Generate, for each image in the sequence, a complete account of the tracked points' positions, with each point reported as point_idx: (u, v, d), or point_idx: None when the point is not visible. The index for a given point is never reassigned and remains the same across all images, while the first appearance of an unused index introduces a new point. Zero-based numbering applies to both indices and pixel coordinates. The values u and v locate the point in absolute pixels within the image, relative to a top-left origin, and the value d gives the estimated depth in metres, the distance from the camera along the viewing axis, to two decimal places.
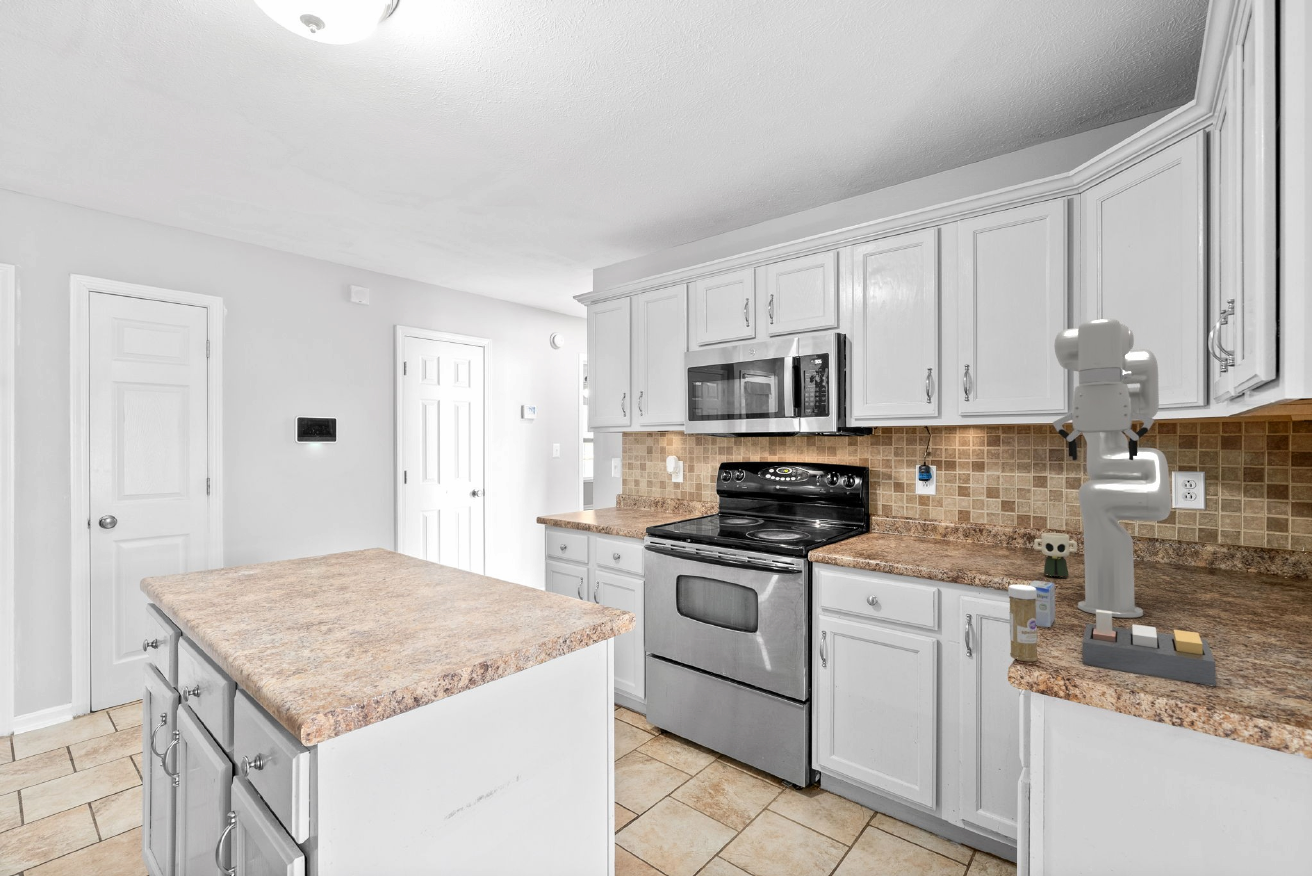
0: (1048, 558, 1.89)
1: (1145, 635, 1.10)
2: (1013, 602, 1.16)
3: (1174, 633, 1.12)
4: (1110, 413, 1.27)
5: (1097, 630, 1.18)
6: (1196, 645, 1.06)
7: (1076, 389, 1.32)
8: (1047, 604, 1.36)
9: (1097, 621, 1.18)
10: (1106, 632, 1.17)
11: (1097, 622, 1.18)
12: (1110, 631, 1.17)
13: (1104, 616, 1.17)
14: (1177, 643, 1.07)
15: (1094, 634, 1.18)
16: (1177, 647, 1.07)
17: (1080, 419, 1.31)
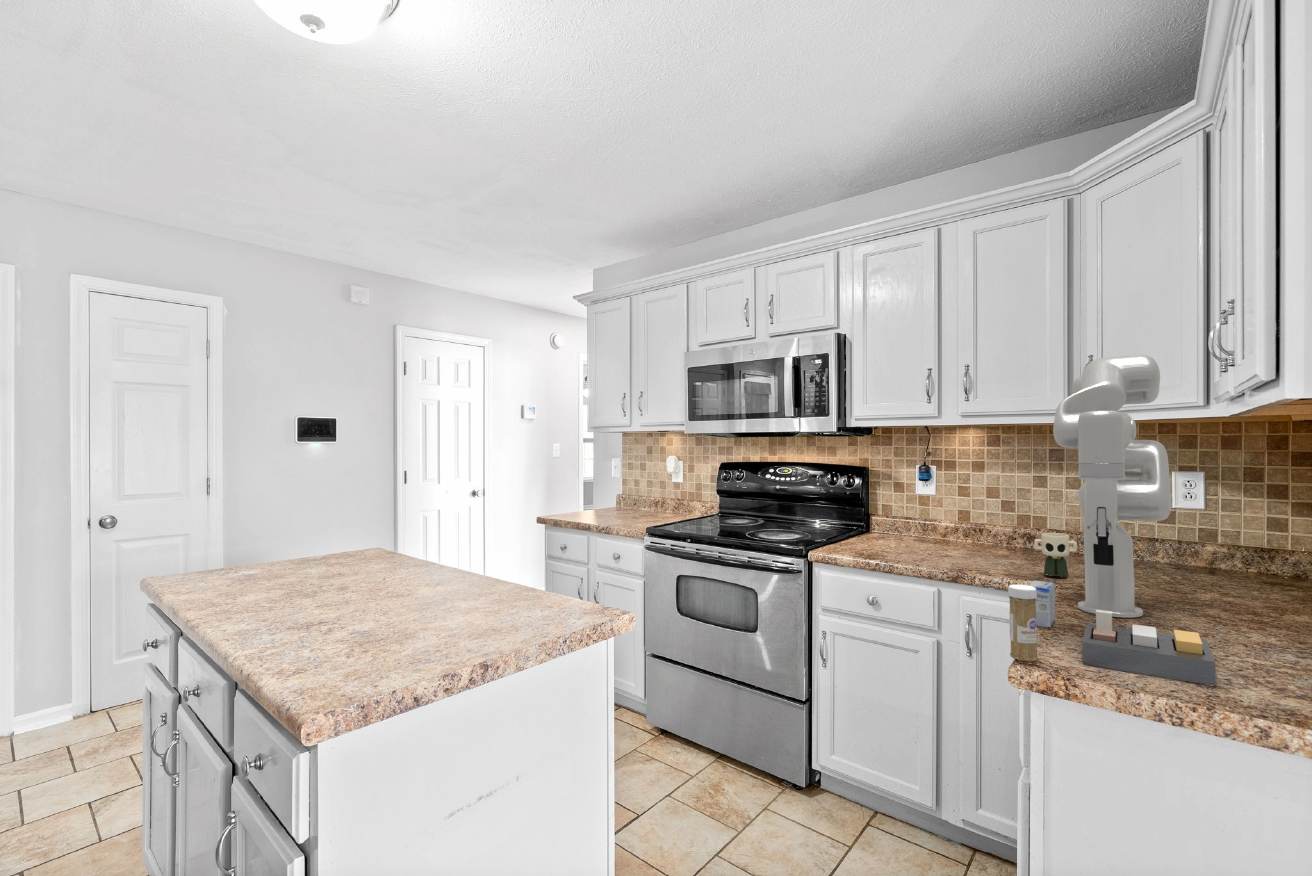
0: (1048, 558, 1.89)
1: (1145, 635, 1.10)
2: (1013, 602, 1.16)
3: (1174, 633, 1.12)
4: None
5: (1097, 630, 1.18)
6: (1196, 645, 1.06)
7: (1110, 483, 1.20)
8: (1047, 605, 1.36)
9: (1097, 621, 1.18)
10: (1106, 632, 1.17)
11: (1097, 622, 1.18)
12: (1110, 631, 1.17)
13: (1104, 616, 1.17)
14: (1177, 643, 1.07)
15: (1094, 634, 1.18)
16: (1177, 647, 1.07)
17: (1115, 516, 1.19)
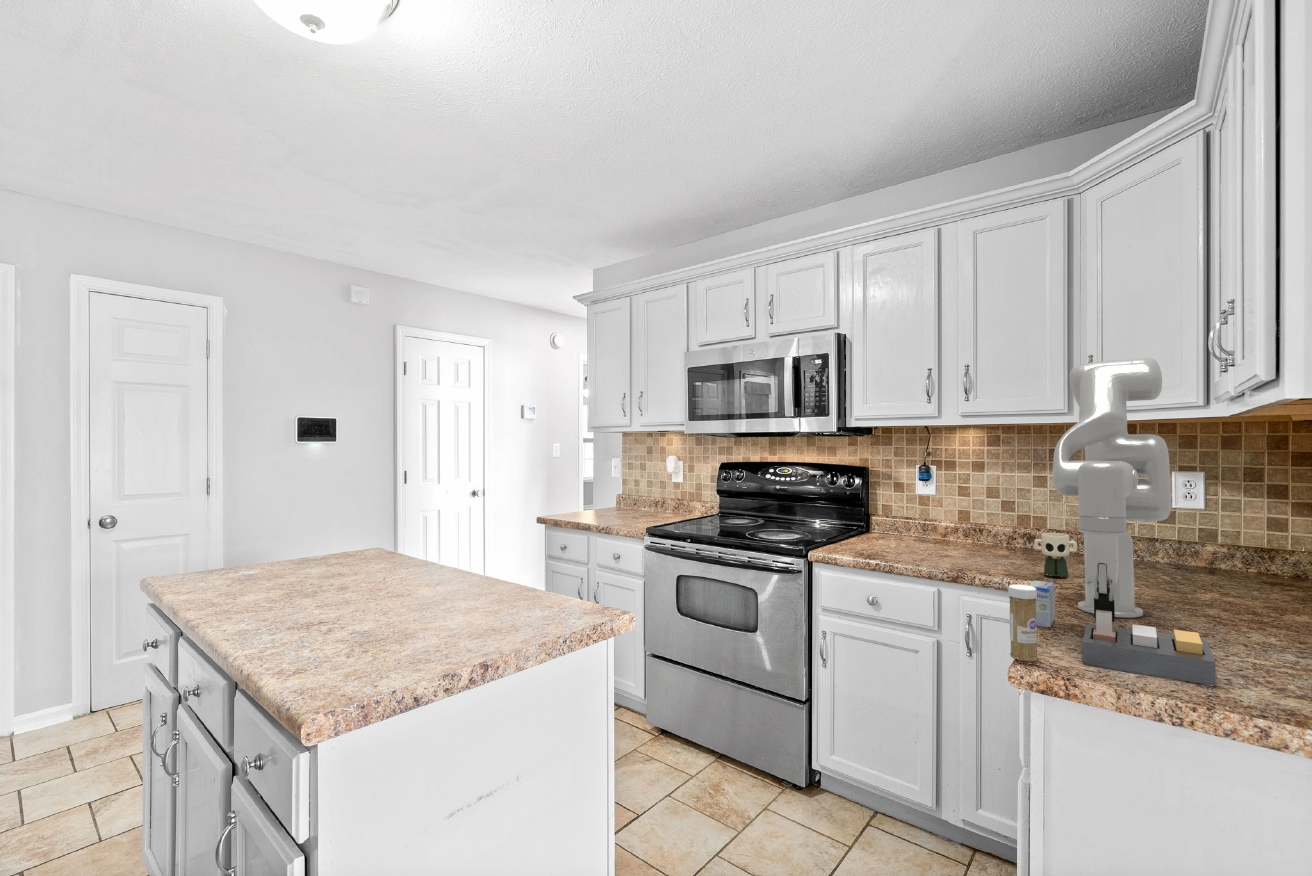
0: (1048, 558, 1.89)
1: (1145, 635, 1.10)
2: (1013, 602, 1.16)
3: (1174, 633, 1.12)
4: None
5: (1097, 630, 1.18)
6: (1196, 645, 1.06)
7: (1111, 538, 1.17)
8: (1047, 605, 1.36)
9: (1097, 621, 1.18)
10: (1106, 632, 1.17)
11: (1097, 622, 1.18)
12: (1110, 631, 1.17)
13: (1104, 616, 1.17)
14: (1177, 643, 1.07)
15: (1094, 634, 1.17)
16: (1177, 647, 1.07)
17: (1116, 573, 1.17)
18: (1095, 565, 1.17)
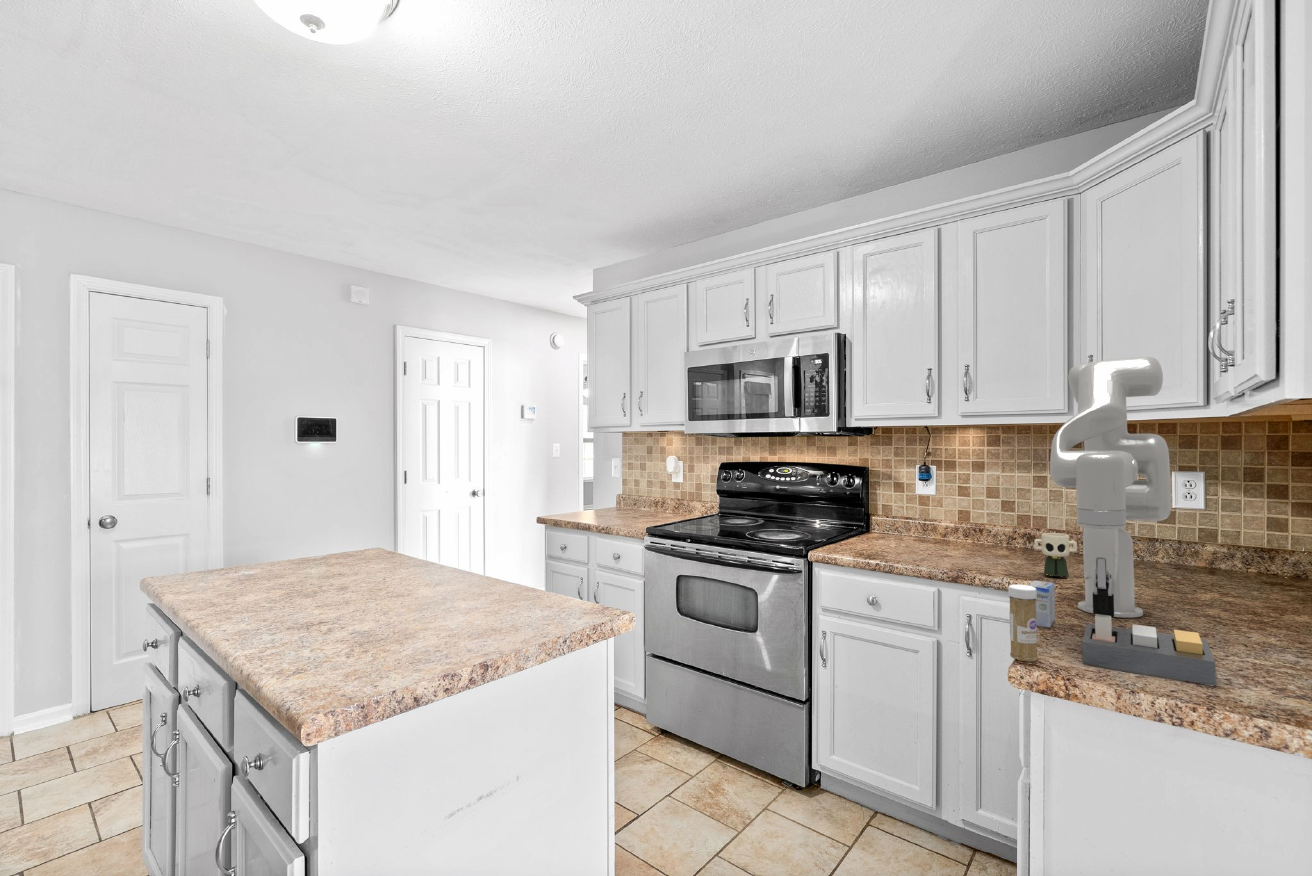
0: (1048, 558, 1.89)
1: (1145, 635, 1.10)
2: (1013, 602, 1.16)
3: (1174, 633, 1.12)
4: None
5: (1096, 635, 1.15)
6: (1196, 645, 1.06)
7: (1110, 532, 1.13)
8: (1047, 604, 1.36)
9: (1096, 626, 1.15)
10: (1105, 637, 1.14)
11: (1096, 627, 1.15)
12: (1109, 636, 1.14)
13: (1103, 621, 1.14)
14: (1177, 643, 1.07)
15: None
16: (1177, 647, 1.07)
17: (1116, 567, 1.13)
18: (1094, 560, 1.14)
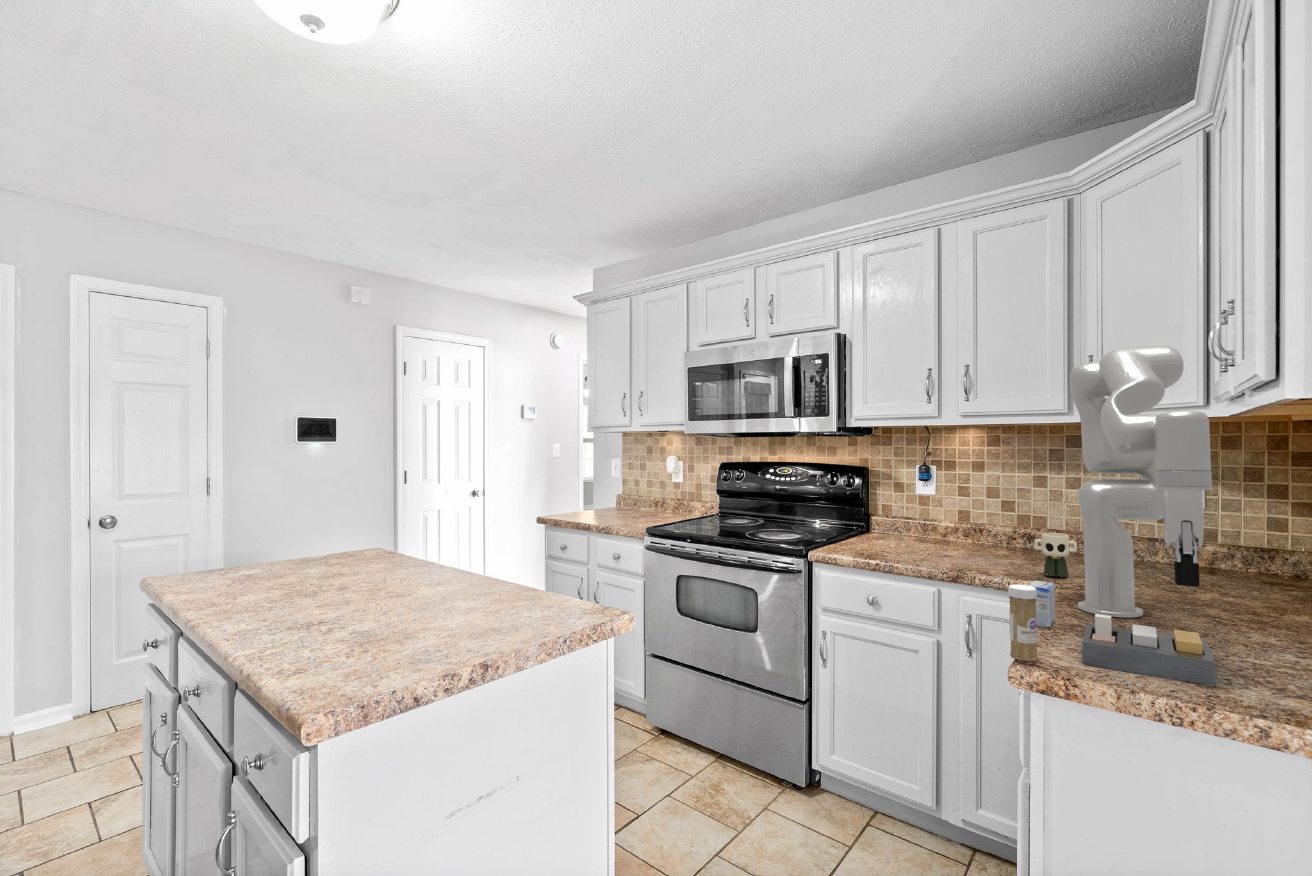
0: (1048, 558, 1.89)
1: (1145, 635, 1.10)
2: (1013, 602, 1.16)
3: (1174, 633, 1.12)
4: None
5: (1096, 635, 1.15)
6: (1196, 645, 1.06)
7: (1197, 493, 1.06)
8: (1047, 604, 1.36)
9: (1096, 626, 1.15)
10: (1105, 637, 1.14)
11: (1096, 627, 1.15)
12: (1109, 636, 1.14)
13: (1103, 621, 1.14)
14: (1177, 643, 1.07)
15: None
16: (1177, 647, 1.07)
17: (1203, 531, 1.05)
18: (1178, 523, 1.06)
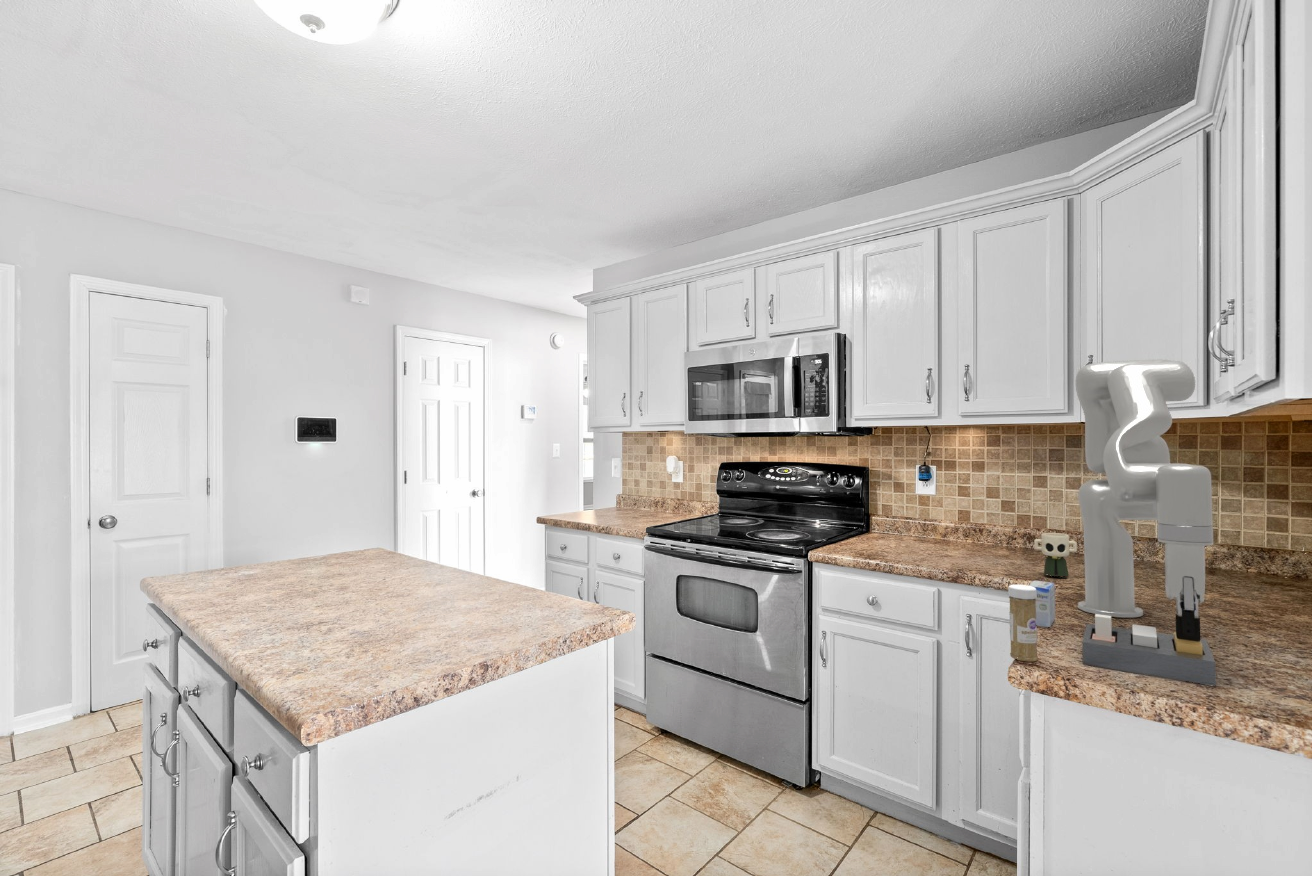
0: (1048, 558, 1.89)
1: (1145, 635, 1.10)
2: (1013, 602, 1.16)
3: (1174, 635, 1.12)
4: None
5: (1096, 635, 1.15)
6: (1196, 647, 1.06)
7: (1198, 549, 1.05)
8: (1047, 604, 1.36)
9: (1096, 626, 1.15)
10: (1105, 637, 1.14)
11: (1096, 627, 1.15)
12: (1109, 636, 1.14)
13: (1103, 621, 1.14)
14: (1177, 645, 1.07)
15: None
16: (1177, 649, 1.07)
17: None
18: (1180, 579, 1.06)
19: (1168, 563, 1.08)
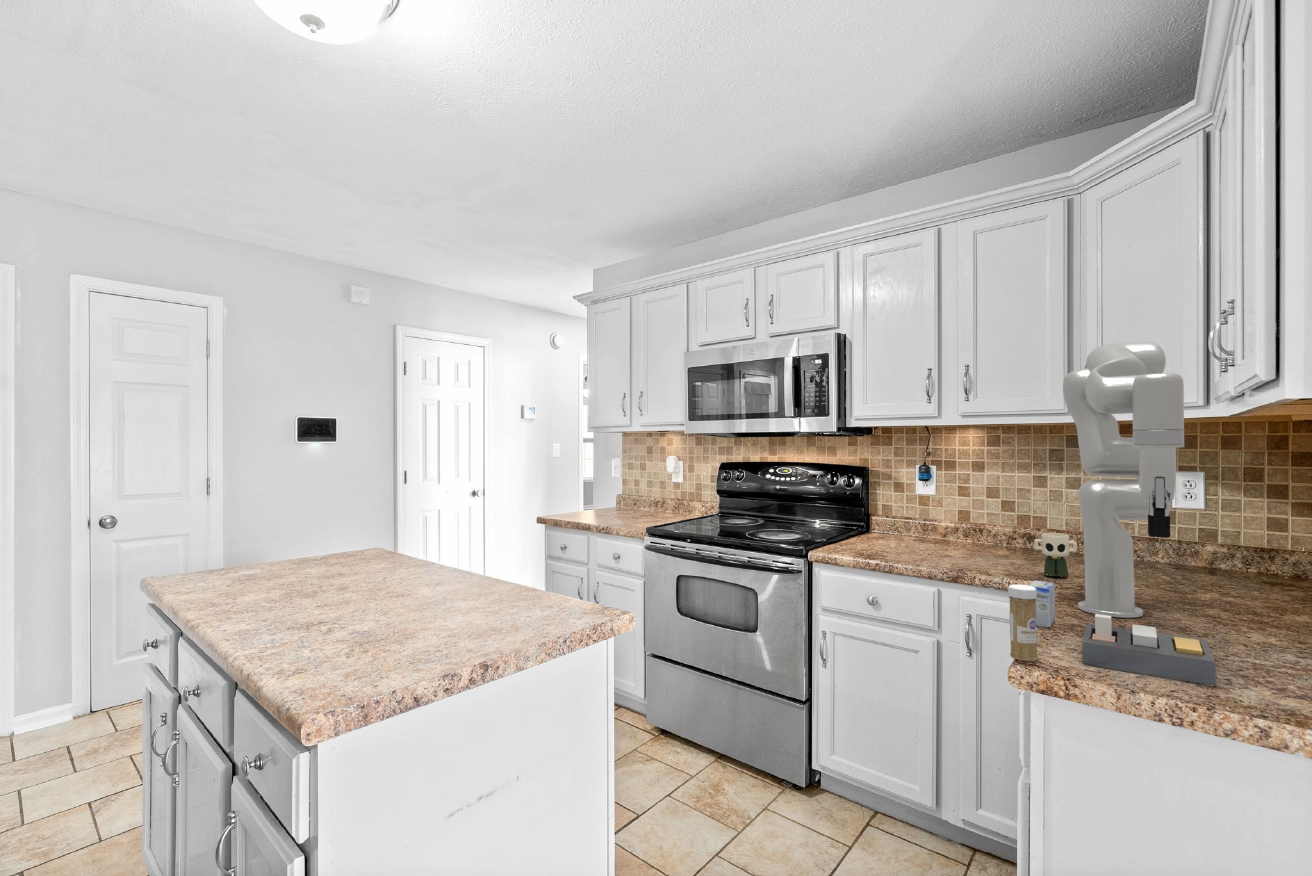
0: (1048, 558, 1.89)
1: (1145, 635, 1.10)
2: (1013, 602, 1.16)
3: (1174, 640, 1.12)
4: None
5: (1096, 635, 1.15)
6: (1196, 653, 1.06)
7: (1170, 451, 1.12)
8: (1047, 604, 1.36)
9: (1096, 626, 1.15)
10: (1105, 637, 1.14)
11: (1096, 627, 1.15)
12: (1109, 636, 1.14)
13: (1103, 621, 1.14)
14: (1177, 650, 1.07)
15: None
16: None
17: (1174, 486, 1.12)
18: (1152, 479, 1.13)
19: (1141, 466, 1.15)
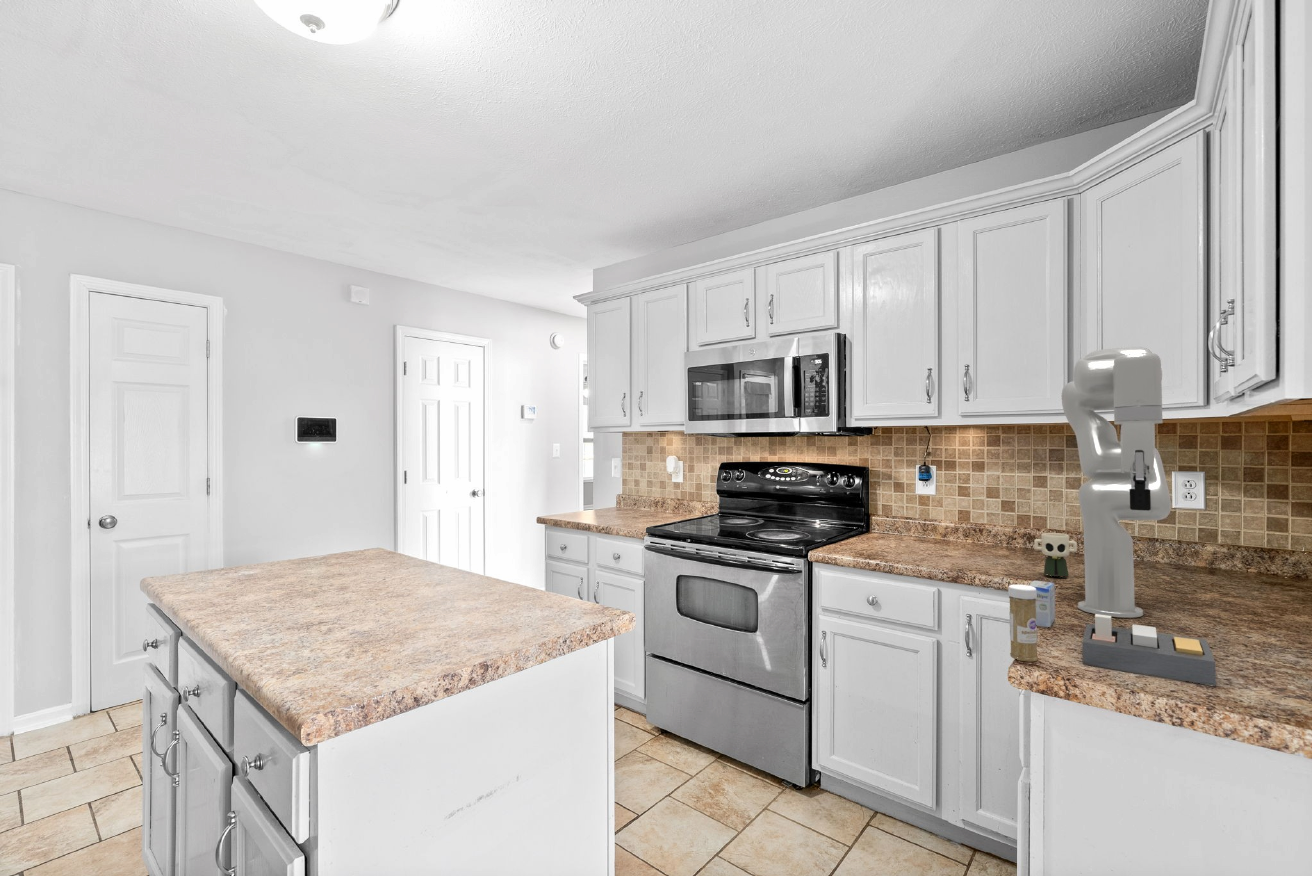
0: (1048, 558, 1.89)
1: (1145, 635, 1.10)
2: (1013, 602, 1.16)
3: (1174, 640, 1.12)
4: None
5: (1096, 635, 1.15)
6: (1196, 653, 1.06)
7: (1148, 426, 1.18)
8: (1047, 604, 1.36)
9: (1096, 626, 1.15)
10: (1105, 637, 1.14)
11: (1096, 627, 1.15)
12: (1109, 636, 1.14)
13: (1103, 621, 1.14)
14: (1177, 650, 1.07)
15: None
16: None
17: (1153, 459, 1.18)
18: (1132, 453, 1.18)
19: (1122, 440, 1.20)
